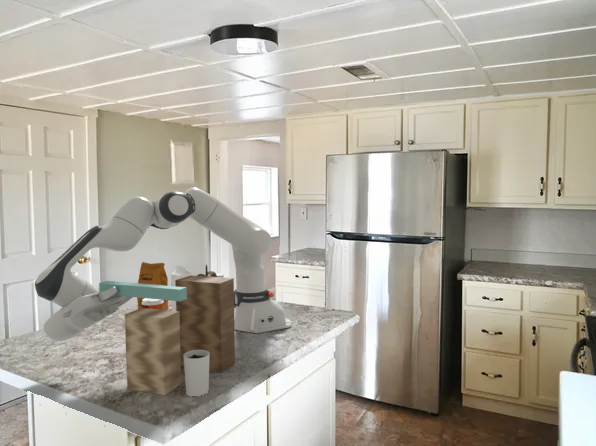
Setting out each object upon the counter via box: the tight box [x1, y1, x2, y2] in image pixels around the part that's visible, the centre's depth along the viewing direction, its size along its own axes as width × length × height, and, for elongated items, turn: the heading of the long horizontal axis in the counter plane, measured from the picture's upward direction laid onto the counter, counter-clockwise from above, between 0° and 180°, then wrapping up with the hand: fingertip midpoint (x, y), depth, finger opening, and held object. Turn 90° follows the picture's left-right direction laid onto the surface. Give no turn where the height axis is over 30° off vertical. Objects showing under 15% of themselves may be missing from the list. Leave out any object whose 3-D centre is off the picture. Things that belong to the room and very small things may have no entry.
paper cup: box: [141, 298, 164, 310], centre depth 162 cm, size 8×8×14 cm
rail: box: [98, 280, 187, 302], centre depth 120 cm, size 26×3×3 cm, turn 70°
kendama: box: [196, 264, 217, 277], centre depth 201 cm, size 6×10×20 cm, turn 160°
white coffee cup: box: [183, 350, 210, 397], centre depth 118 cm, size 7×7×10 cm
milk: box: [170, 265, 193, 311], centre depth 185 cm, size 6×6×22 cm
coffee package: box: [136, 261, 169, 310], centre depth 196 cm, size 10×12×22 cm
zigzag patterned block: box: [124, 308, 182, 396], centre depth 121 cm, size 12×7×20 cm, turn 70°
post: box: [175, 274, 236, 373], centre depth 136 cm, size 15×8×26 cm, turn 70°
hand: (123, 287), depth 123 cm, fingers closed on rail, 3 cm apart
